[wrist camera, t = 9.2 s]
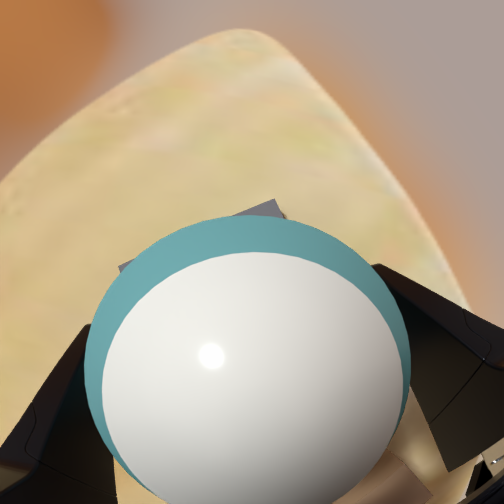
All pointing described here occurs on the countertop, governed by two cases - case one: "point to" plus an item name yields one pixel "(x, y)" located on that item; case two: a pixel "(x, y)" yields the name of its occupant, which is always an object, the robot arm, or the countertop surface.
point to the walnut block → (387, 485)
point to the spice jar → (247, 365)
